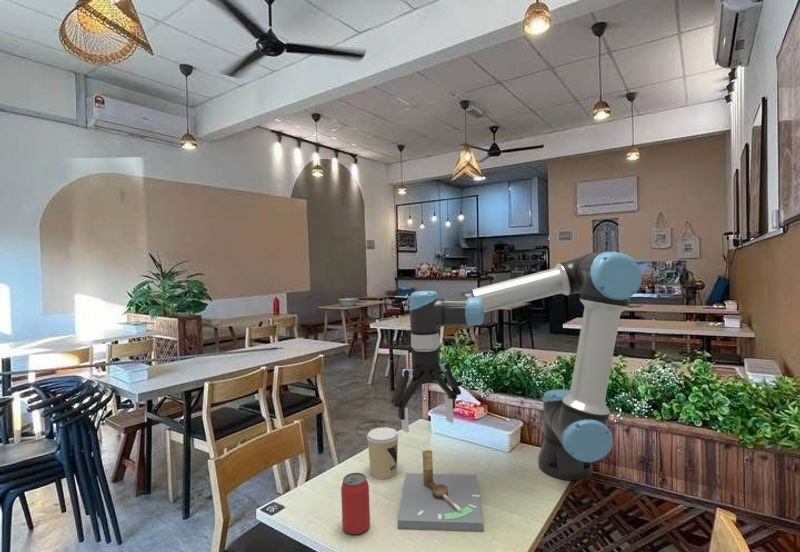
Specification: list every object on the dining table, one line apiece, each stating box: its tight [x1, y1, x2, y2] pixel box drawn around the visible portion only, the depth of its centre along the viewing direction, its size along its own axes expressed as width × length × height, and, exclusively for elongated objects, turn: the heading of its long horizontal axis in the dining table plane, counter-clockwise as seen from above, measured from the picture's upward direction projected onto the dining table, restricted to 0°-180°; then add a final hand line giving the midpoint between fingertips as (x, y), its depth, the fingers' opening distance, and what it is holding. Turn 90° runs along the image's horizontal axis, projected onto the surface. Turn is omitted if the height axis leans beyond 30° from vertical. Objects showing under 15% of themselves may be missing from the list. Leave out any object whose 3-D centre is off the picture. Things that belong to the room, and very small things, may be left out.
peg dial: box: [422, 449, 461, 512], centre depth 109 cm, size 16×4×9 cm, turn 27°
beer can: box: [340, 472, 371, 535], centre depth 101 cm, size 7×7×12 cm
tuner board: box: [397, 472, 484, 532], centre depth 110 cm, size 20×22×2 cm
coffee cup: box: [366, 427, 399, 480], centre depth 127 cm, size 9×9×12 cm
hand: (427, 425), depth 115 cm, fingers open, 13 cm apart
